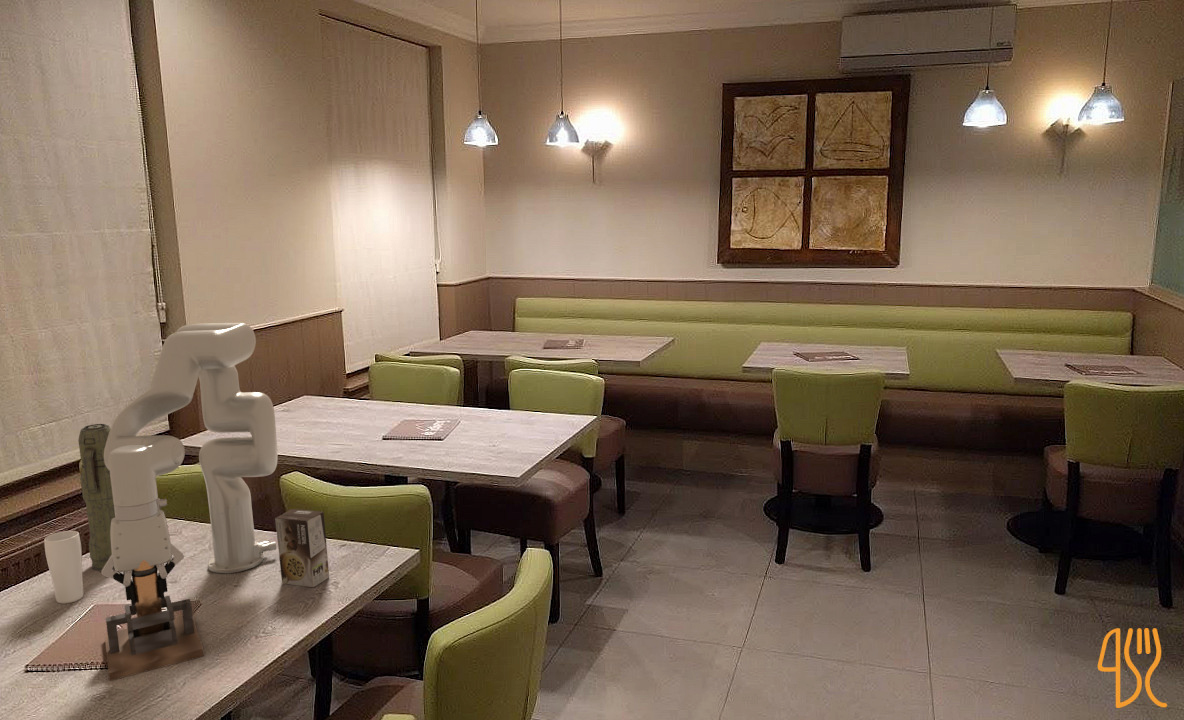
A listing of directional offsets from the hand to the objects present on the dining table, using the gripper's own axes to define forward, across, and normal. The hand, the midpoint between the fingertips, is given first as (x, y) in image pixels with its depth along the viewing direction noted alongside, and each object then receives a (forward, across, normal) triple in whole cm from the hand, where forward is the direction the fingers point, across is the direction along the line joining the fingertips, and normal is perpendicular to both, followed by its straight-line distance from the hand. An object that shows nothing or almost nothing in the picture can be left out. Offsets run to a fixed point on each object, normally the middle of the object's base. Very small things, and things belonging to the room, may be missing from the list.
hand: (147, 598), depth 167 cm
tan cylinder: (+7, 0, 0) cm, 7 cm away
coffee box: (+11, -33, -16) cm, 38 cm away
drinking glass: (+11, +14, -36) cm, 40 cm away
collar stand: (+11, 0, 0) cm, 11 cm away
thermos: (+11, +5, -54) cm, 55 cm away
